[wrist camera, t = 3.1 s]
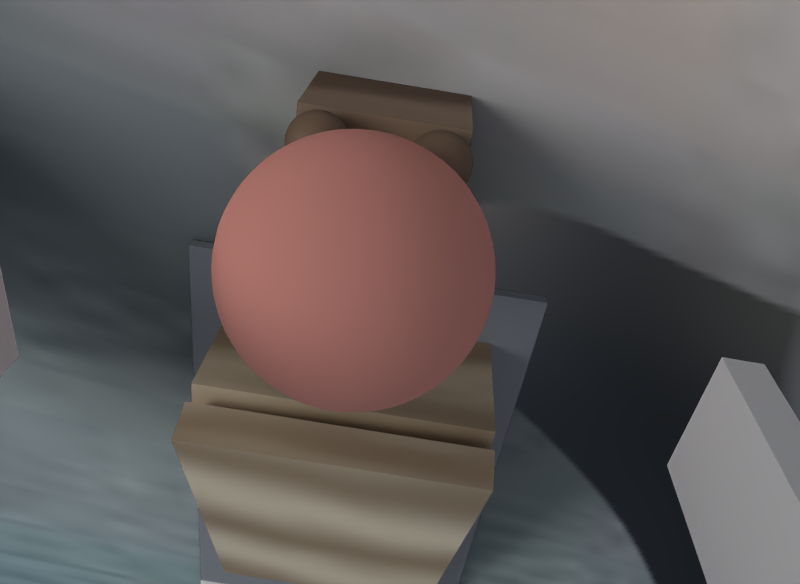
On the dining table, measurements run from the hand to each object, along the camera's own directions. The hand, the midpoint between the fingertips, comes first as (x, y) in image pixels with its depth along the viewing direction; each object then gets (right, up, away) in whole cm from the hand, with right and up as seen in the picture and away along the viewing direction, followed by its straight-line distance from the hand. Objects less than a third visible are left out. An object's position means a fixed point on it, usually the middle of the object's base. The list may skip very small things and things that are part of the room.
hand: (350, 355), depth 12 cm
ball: (0, +3, +5) cm, 6 cm away
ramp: (-1, -6, +15) cm, 16 cm away
